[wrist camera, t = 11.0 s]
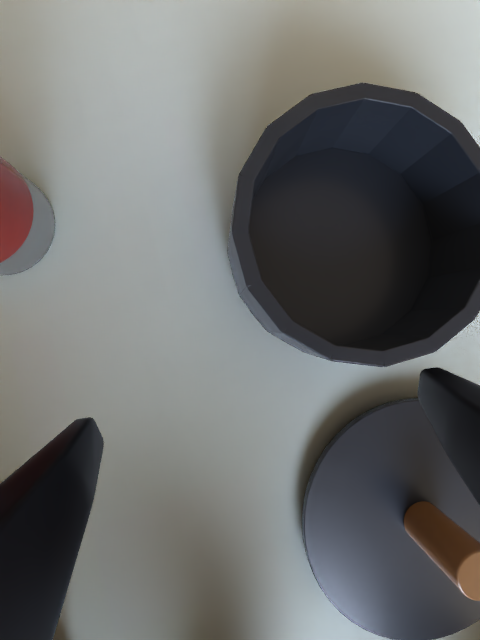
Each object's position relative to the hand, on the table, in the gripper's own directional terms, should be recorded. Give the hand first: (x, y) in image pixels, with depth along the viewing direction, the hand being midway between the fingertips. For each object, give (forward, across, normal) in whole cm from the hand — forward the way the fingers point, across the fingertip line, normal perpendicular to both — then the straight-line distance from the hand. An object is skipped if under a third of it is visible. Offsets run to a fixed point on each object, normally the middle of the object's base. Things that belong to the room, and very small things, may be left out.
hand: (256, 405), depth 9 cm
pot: (+14, -6, 0) cm, 15 cm away
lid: (+5, -9, +16) cm, 19 cm away
